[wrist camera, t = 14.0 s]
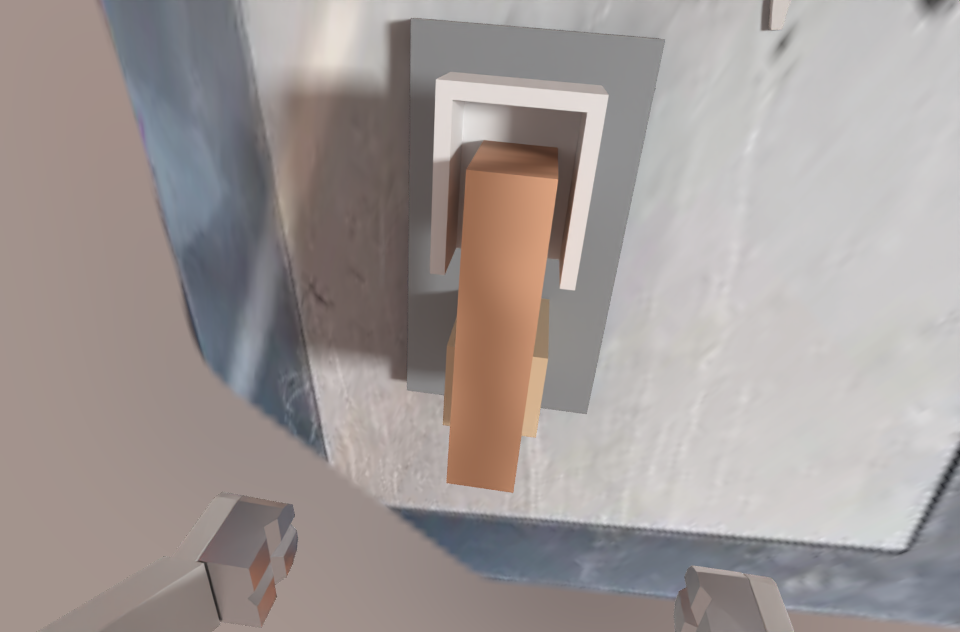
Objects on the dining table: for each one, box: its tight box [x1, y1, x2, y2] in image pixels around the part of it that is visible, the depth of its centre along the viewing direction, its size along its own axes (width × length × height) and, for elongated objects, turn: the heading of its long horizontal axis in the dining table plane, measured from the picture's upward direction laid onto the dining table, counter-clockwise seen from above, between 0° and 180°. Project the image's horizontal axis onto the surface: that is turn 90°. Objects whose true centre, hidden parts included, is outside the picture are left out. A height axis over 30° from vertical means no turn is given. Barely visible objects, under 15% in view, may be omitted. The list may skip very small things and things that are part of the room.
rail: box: [447, 140, 558, 493], centre depth 23 cm, size 3×14×5 cm, turn 176°
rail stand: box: [407, 18, 665, 438], centre depth 28 cm, size 12×22×11 cm, turn 176°
